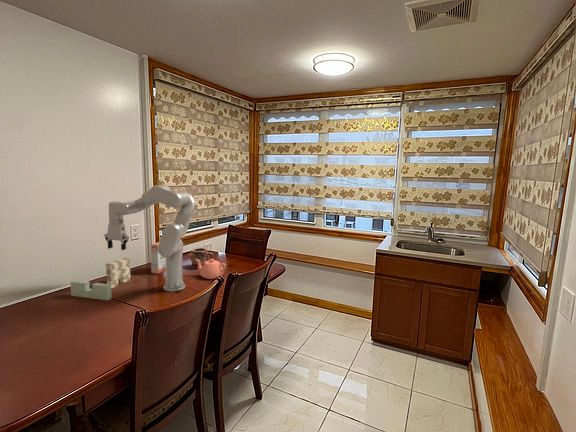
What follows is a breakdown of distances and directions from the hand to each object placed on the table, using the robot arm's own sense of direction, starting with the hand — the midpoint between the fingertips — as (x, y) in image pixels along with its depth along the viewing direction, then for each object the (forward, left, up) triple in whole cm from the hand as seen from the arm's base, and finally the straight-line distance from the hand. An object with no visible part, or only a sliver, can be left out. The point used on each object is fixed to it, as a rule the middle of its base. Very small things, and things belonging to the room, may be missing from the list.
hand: (116, 248), depth 188 cm
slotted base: (-8, +20, -23) cm, 31 cm away
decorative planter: (-14, -54, -23) cm, 60 cm away
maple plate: (0, 0, -23) cm, 23 cm away
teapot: (-35, -44, -23) cm, 61 cm away
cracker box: (+2, -31, -23) cm, 39 cm away
